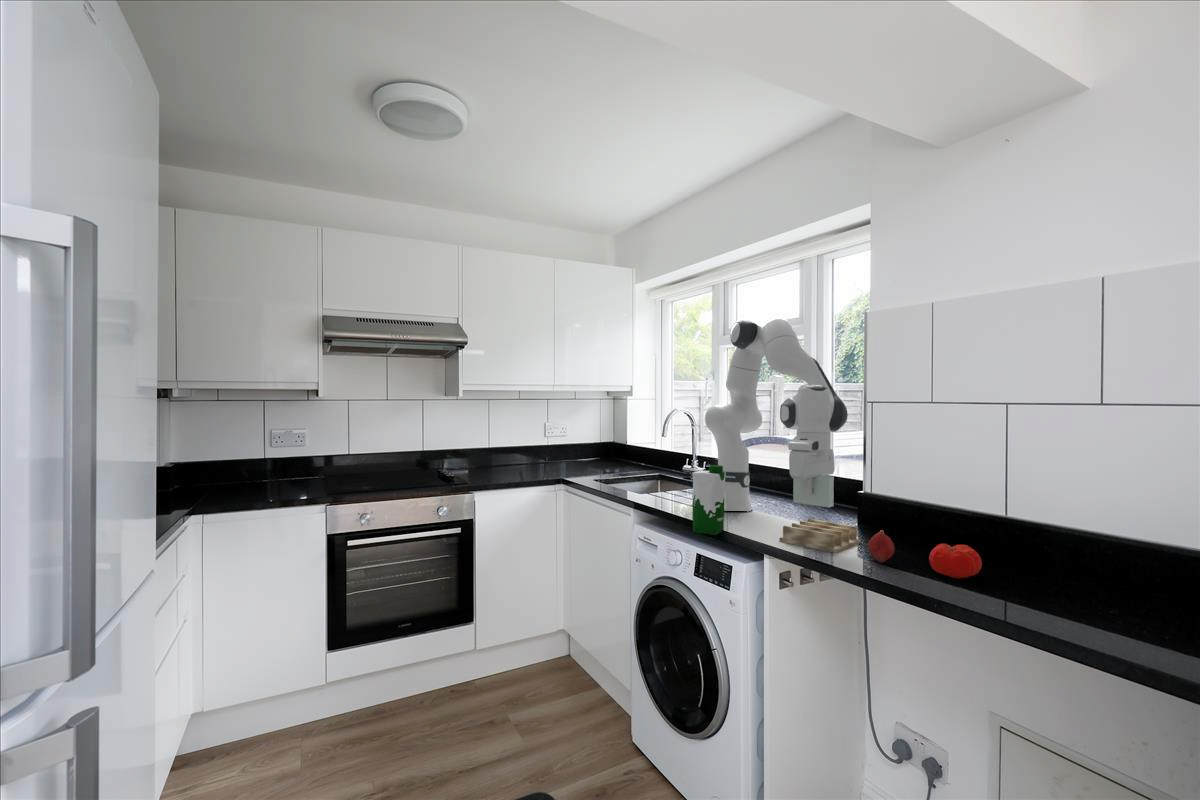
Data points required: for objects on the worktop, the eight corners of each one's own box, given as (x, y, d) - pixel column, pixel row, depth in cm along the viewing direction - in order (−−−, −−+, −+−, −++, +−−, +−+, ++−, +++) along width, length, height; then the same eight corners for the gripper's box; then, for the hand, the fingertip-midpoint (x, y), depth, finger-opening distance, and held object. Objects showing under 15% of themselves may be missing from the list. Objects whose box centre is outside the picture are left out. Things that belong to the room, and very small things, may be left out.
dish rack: (779, 541, 153) (779, 525, 153) (805, 532, 164) (805, 518, 164) (836, 552, 141) (836, 535, 142) (860, 543, 152) (860, 527, 152)
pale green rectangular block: (793, 502, 152) (793, 473, 152) (798, 501, 154) (798, 473, 154) (828, 507, 145) (828, 477, 145) (833, 506, 147) (833, 476, 147)
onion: (862, 560, 135) (862, 528, 135) (879, 558, 137) (880, 526, 137) (882, 566, 130) (882, 533, 130) (899, 564, 132) (900, 531, 132)
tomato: (925, 575, 124) (925, 546, 124) (935, 565, 132) (935, 538, 132) (977, 585, 117) (977, 555, 117) (984, 574, 125) (984, 546, 126)
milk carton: (717, 536, 157) (718, 467, 158) (688, 532, 162) (689, 465, 162) (727, 530, 165) (728, 465, 165) (699, 527, 170) (700, 463, 170)
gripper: (819, 441, 159) (818, 488, 159) (784, 443, 145) (784, 495, 145) (840, 442, 155) (840, 490, 154) (807, 444, 140) (807, 498, 140)
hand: (813, 493), depth 149 cm, fingers closed on pale green rectangular block, 3 cm apart
